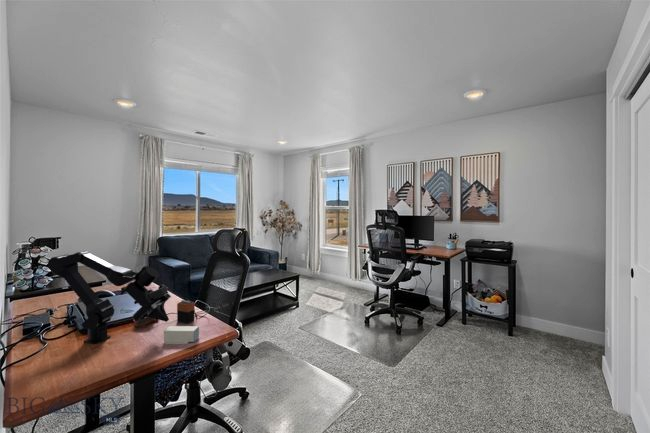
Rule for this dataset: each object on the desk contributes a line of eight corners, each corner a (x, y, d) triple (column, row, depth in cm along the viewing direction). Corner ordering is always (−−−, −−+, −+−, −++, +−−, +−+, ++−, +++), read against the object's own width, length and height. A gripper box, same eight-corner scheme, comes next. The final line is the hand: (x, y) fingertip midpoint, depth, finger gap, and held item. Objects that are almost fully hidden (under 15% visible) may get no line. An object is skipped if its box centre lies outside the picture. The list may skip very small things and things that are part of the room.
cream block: (163, 330, 118) (194, 330, 118) (169, 326, 123) (198, 326, 123) (163, 341, 118) (194, 341, 119) (169, 336, 123) (198, 336, 123)
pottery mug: (164, 322, 140) (159, 310, 135) (145, 337, 133) (140, 326, 128) (147, 311, 144) (142, 300, 140) (129, 326, 137) (123, 314, 133)
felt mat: (164, 344, 117) (164, 343, 117) (172, 336, 124) (172, 335, 124) (186, 344, 117) (186, 343, 117) (194, 336, 124) (194, 335, 124)
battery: (187, 324, 137) (187, 303, 136) (176, 322, 139) (176, 301, 138) (194, 320, 141) (194, 300, 140) (184, 318, 143) (184, 298, 143)
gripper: (140, 286, 110) (170, 315, 111) (166, 274, 129) (191, 299, 129) (119, 307, 110) (149, 336, 111) (148, 292, 129) (173, 317, 130)
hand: (167, 320), depth 120 cm, fingers closed
